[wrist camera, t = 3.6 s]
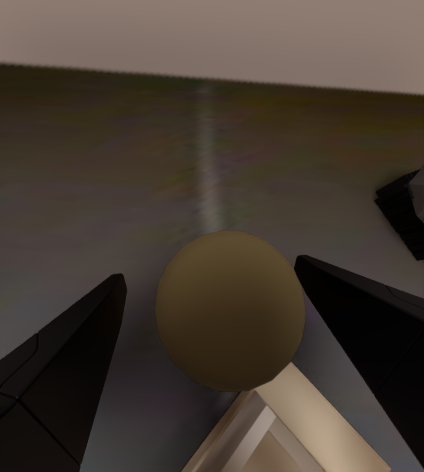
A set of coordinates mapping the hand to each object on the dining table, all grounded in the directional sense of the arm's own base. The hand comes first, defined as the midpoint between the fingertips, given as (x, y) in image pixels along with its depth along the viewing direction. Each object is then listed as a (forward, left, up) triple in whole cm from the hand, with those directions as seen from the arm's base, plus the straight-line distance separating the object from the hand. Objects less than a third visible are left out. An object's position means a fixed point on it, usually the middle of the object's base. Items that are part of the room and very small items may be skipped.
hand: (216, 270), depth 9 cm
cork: (-1, -1, -7) cm, 7 cm away
